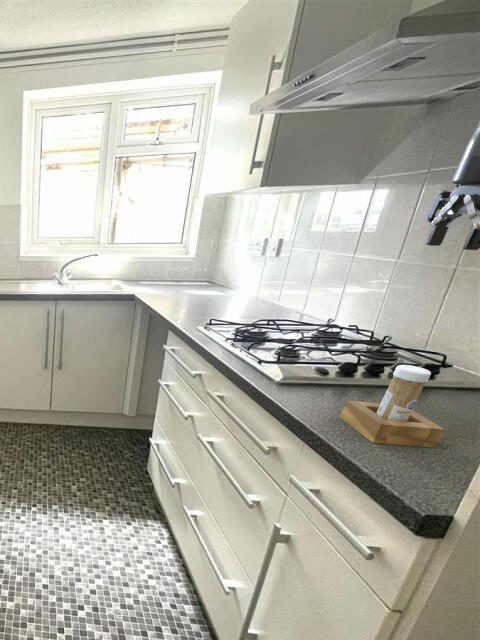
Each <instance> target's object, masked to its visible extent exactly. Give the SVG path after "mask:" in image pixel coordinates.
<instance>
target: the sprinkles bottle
mask: <svg viewBox="0 0 480 640" xmlns="http://www.w3.org/2000/svg"><path fill="white" fill-rule="evenodd" d="M431 375H432V372H431V371H430V370H429V369H426V368H423V367H421V366H415V365H409V364H399V365H397V366H396V368H394V371H393V373H392V379H391V381H390V383H389V386H388V388H387V389H386V391H385V393H384V395H383V397H382V400H381V402H380V403H381V404H380V406H379V408H378V410H377V413H376V414H377V415H379V416H380V417H382V418H383V419H385V420H391V421H404V422H406V421H407V420H408V418H409V416H410V414H411V412H412V410H413V411H414V407H415V406H416V403H417V400H418V398H419V396H420V395H421V393H422V390H423V388H424V385H426V383H427V382H428V381H429V379H430V376H431Z"/></svg>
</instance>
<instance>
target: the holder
mask: <svg viewBox="0 0 480 640" xmlns="http://www.w3.org/2000/svg"><path fill="white" fill-rule="evenodd" d="M380 404H381V402H371V401H357V400H346V401H345V404H344V407H343V408H342V410H341V413H340V416H339V418H340V419H341V420H342V421H343V422H345V423H346V424H348V425H349V426H350V427H352V429H354V430H355V431H357V432H358V433H359V434H360V435H362V436H363V437H365V438H366V439H367V440H369V442H371V443H372V444H384V445H393V446H394V445H396V446H406V447H419V448H428V449H429V448H431V449H435V448H436V446H438V445H437V444H438V443H439V441H440V439H441V437H442V435H443V433H444V431H446V430H445V428H443V427H441V426H439V425H438V424H436V423H435V422H433V421H432V420H430V419H428V418H427V417H425V416H423V415H421V414H420V413H418V412H416V411H415V410H414V409H413V410H412V412H411V414H410V416H409V418H408V420H407V421H406V422H404V421H391V420H385V419H383V418H382V417H380V416H379V415H377V414H376V413H377V410H378V408H379V406H380Z"/></svg>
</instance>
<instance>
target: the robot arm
mask: <svg viewBox="0 0 480 640" xmlns="http://www.w3.org/2000/svg"><path fill="white" fill-rule="evenodd" d="M458 163H459V164H458V165H457V168H456V171H455V173H454V175H453V177H452V179H451V183H452V184H453V185H456V186H455V188H454V189H453V190H450V189H449V190H447V189H446V190H440V191H438V192H437V194H436V196H435V198H434V200H433V203H432V205H431V206H430V209H429V212H428V213H427V216H426V218H425V222H426V223H430V224H431V226H432V228H431V231H430V233H429V235H428V237H427V240H426V242H425V243H426V246H431V247H432V246H435V247H438V246H441V245H442V244H443V241H444V239H445V237H446V236H447V232H448V230H449V228H450V226H449V225H451V223H453V222H454V221H455V220H456V219H458V218H460V217H462V216H463V215H466V216H467V217H468V219H470V220H471V222H472V227H473V228H471V229H470V230H469V233H468V235H467V238H466V240H465V242H464V244H463V246H462V249H463V250H465V251H478V250H479V249H480V120H479V122H478V124H477V126H476V128H475V130H474V133H473V134H472V136H471V137H470V139H469V141H468V142H467V144H466V147H465V150H464V152H463V154H462V156H461V158H460V161H459V162H458ZM438 211H439V212H438ZM437 212H438V215H437Z"/></svg>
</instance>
